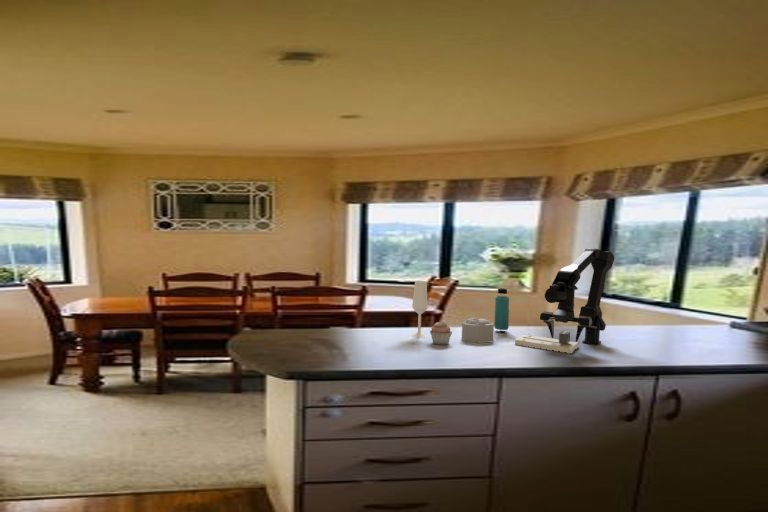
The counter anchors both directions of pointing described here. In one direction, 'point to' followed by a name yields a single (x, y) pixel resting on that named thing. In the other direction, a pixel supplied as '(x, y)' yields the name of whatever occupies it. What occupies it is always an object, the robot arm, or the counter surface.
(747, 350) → the counter surface
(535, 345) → the panel
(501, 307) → the beverage bottle
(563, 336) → the block
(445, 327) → the cupcake
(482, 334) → the lumpy-topped squat cylinder
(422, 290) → the champagne flute
